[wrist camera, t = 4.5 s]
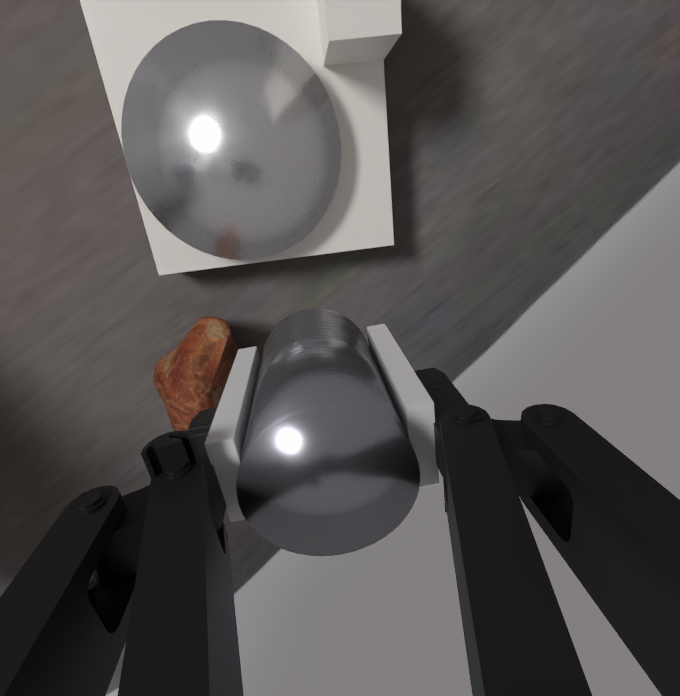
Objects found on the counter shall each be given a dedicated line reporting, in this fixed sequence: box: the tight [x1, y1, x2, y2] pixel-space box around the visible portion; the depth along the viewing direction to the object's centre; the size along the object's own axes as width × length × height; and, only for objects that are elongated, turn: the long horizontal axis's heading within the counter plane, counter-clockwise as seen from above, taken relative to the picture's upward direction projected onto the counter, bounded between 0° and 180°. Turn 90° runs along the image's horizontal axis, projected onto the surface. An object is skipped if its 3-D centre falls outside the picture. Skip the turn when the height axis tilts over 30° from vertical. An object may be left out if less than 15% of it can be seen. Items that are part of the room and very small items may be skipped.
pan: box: [121, 20, 341, 260], centre depth 27 cm, size 14×14×2 cm
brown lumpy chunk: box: [153, 316, 238, 431], centre depth 34 cm, size 13×8×10 cm
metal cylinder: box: [236, 309, 420, 556], centre depth 14 cm, size 5×5×8 cm
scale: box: [80, 0, 402, 275], centre depth 26 cm, size 18×18×8 cm
